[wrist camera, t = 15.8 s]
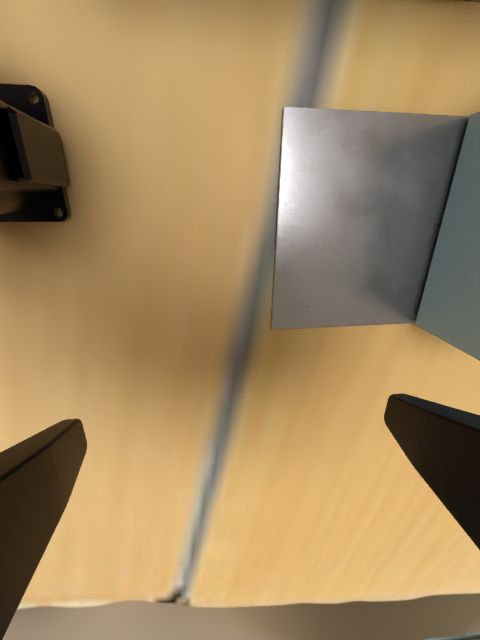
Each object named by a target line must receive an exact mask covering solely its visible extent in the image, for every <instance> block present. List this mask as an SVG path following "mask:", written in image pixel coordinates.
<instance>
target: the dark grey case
mask: <svg viewBox="0 0 480 640" xmlns="http://www.w3.org/2000/svg"><path fill="white" fill-rule="evenodd" d="M468 1H477V2H480V0H468ZM468 121H469V117H467V116H448V115H429V114H410V113H392V112H373V111H354V110H335V109H316V108H298V107H284V108H283V116H282V134H281V152H280V171H279V189H278V207H277V226H276V244H275V262H274V281H273V299H272V318H271V329H293V328H315V327H337V326H359V325H381V324H403V323H416V319H417V315H418V311H419V308H420V304H421V300H422V296H423V292H424V288H425V285H426V281H427V277H428V273H429V269H430V266H431V262H432V258H433V254H434V250H435V247H436V243H437V239H438V235H439V231H440V228H441V224H442V220H443V216H444V212H445V209H446V205H447V201H448V197H449V193H450V190H451V186H452V182H453V178H454V174H455V170H456V167H457V163H458V159H459V155H460V151H461V148H462V144H463V140H464V136H465V132H466V129H467V125H468Z"/></svg>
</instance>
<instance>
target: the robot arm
mask: <svg viewBox="0 0 480 640" xmlns="http://www.w3.org/2000/svg"><path fill="white" fill-rule="evenodd" d="M34 94H37V95H38V97H39V101H38V102H37V103H35V104H34V103H33V101H32V96H33V95H34ZM67 184H68V177H67V172H66V167H65V162H64V157H63V152H62V146H61V141H60V136H59V133H58V132H57V131H56V130H55V129H54V128H53V125H52V120H51V115H50V110H49V105H48V100H47V98H46V96H45V94H44V93H43V92H42V91H41V90H39V89H38V88H36V87H35V86H31V85H16V84H0V222H62V221H67V220H68V219H69V218H70V208H69V203H68V199H67V194H66V189H65V187H66V186H67ZM58 208H60V209H61V210H62V211H63V216H62V217H60V216H59V215H58V214H57V209H58ZM384 420H385V423H386V426H387V427H388V429H389V430H390V432H391V433H392V435H393V436H394V438H395V439H396V441H397V442H398V444H399V445H400V447H401V449H402V450H403V452H404V453H405V455H406V456H407V458H408V459H409V461H410V462H411V464H412V465H413V466H414V468H415V469H416V470H417V472H418V473H419V474H420V475H421V477H422V478H423V479H424V480H425V482H426V483H427V484H428V486H429V487H430V488H431V489H432V491H433V492H434V493H435V494H436V496H437V497H438V498H439V499H440V501H441V502H442V503H443V504H444V506H445V507H446V508H447V509H448V511H449V512H450V513H451V514H452V516H453V517H454V518H455V519H456V521H457V522H458V523H459V525H460V526H461V527H462V528H463V530H464V531H465V532H466V533H467V535H468V536H469V537H470V538H471V540H472V541H473V542H474V543H475V545H476V546H477V547H478V548H479V550H480V415H476V414H473V413H469V412H466V411H462V410H459V409H455V408H452V407H448V406H445V405H441V404H438V403H435V402H431V401H428V400H424V399H421V398H417V397H414V396H410V395H407V394H392V395H390V396H389V398H388V402H387V406H386V410H385V414H384ZM86 450H87V440H86V437H85V433H84V429H83V425H82V422H81V420H79V419H67V420H63V421H60V422H59V423H57V424H55V425H53V426H51V427H49V428H47V429H45V430H43V431H41V432H39V433H37V434H35V435H33V436H31V437H30V438H28V439H26V440H24V441H22V442H20V443H18V444H16V445H14V446H12V447H10V448H8V449H6V450H4V451H2V452H1V453H0V640H2V639H3V636H4V635H5V632H6V631H7V628H8V626H9V624H10V622H11V620H12V618H13V616H14V614H15V612H16V610H17V608H18V606H19V604H20V602H21V599H22V597H23V595H24V593H25V591H26V589H27V587H28V585H29V583H30V581H31V579H32V577H33V575H34V572H35V570H36V568H37V566H38V564H39V562H40V560H41V558H42V556H43V554H44V552H45V550H46V548H47V545H48V543H49V541H50V539H51V537H52V535H53V533H54V531H55V529H56V527H57V525H58V523H59V521H60V518H61V516H62V514H63V512H64V510H65V508H66V506H67V503H68V501H69V498H70V496H71V493H72V490H73V487H74V484H75V482H76V479H77V476H78V473H79V470H80V468H81V465H82V462H83V459H84V456H85V454H86Z"/></svg>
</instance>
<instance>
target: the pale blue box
mask: <svg viewBox="0 0 480 640" xmlns="http://www.w3.org/2000/svg"><path fill="white" fill-rule="evenodd" d="M415 325H417V326H419V327H420V328H422V329H424V330H426V331H428V332H429V333H431V334H433V335H435V336H436V337H438V338H440V339H442V340H444V341H445V342H447V343H449V344H451V345H453V346H454V347H456V348H458V349H460V350H462V351H463V352H465V353H467V354H469V355H470V356H472V357H474V358H476V359H478V360H479V361H480V112H478V113H475V114H472V115H470V117H469V121H468V125H467V129H466V132H465V136H464V140H463V144H462V148H461V151H460V155H459V159H458V163H457V167H456V170H455V174H454V178H453V182H452V186H451V190H450V193H449V197H448V201H447V205H446V209H445V212H444V216H443V220H442V224H441V228H440V231H439V235H438V239H437V243H436V247H435V250H434V254H433V258H432V262H431V266H430V269H429V273H428V277H427V281H426V285H425V288H424V292H423V296H422V300H421V304H420V308H419V311H418V315H417V319H416V323H415Z"/></svg>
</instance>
